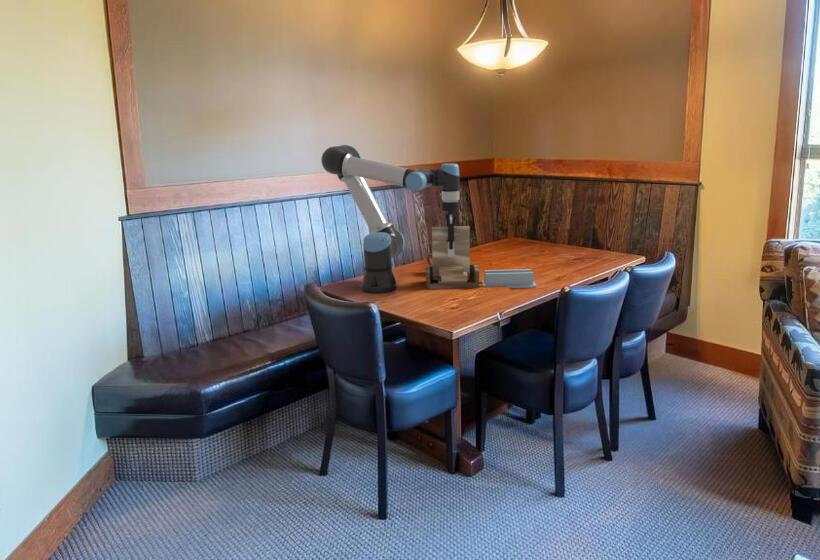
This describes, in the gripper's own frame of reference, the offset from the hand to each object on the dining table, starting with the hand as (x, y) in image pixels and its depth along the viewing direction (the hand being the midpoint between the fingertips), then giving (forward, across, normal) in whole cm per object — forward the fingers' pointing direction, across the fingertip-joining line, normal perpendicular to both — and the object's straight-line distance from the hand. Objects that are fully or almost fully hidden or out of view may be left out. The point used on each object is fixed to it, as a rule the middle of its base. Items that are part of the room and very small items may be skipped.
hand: (450, 255), depth 264 cm
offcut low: (+12, +6, 0) cm, 13 cm away
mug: (+13, -17, -5) cm, 22 cm away
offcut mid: (+9, +6, +1) cm, 11 cm away
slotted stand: (+12, +4, +24) cm, 28 cm away
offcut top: (+7, +6, 0) cm, 9 cm away
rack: (+13, +4, 0) cm, 13 cm away
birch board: (+10, 0, 0) cm, 10 cm away
